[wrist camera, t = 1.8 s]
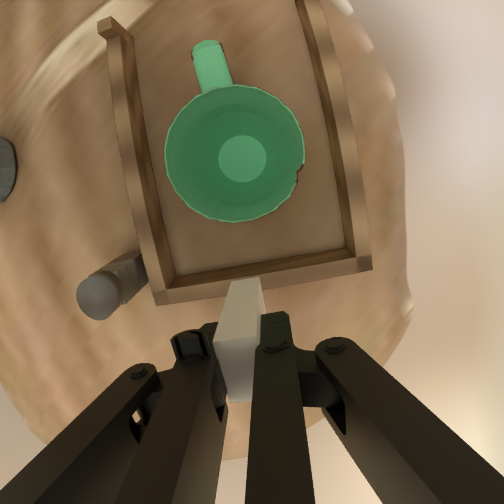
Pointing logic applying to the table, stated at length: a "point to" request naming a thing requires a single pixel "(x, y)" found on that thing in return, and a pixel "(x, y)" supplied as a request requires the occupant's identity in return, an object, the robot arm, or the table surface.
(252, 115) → the mug
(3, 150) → the moka pot
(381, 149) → the table surface
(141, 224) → the bay
